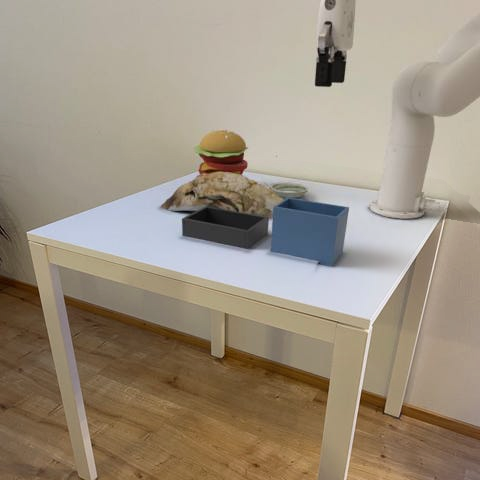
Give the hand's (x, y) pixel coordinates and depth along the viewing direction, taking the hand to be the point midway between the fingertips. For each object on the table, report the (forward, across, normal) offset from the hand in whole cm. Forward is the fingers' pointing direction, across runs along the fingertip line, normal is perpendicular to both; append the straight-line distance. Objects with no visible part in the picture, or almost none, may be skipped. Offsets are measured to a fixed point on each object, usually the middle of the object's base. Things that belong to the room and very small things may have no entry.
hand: (329, 84), depth 95 cm
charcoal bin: (+27, -21, +13) cm, 36 cm away
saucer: (+28, +13, +12) cm, 33 cm away
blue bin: (+27, -21, -4) cm, 35 cm away
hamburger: (+27, +11, +30) cm, 42 cm away
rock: (+27, -4, +21) cm, 35 cm away
